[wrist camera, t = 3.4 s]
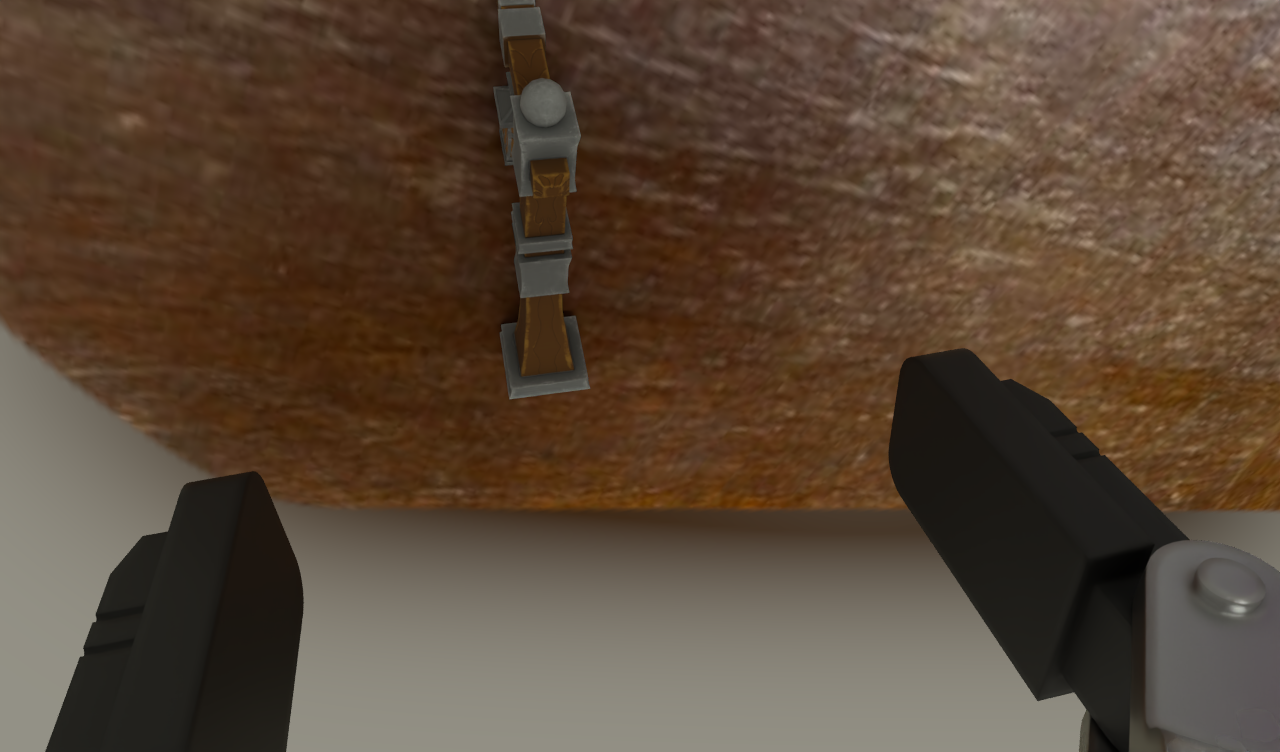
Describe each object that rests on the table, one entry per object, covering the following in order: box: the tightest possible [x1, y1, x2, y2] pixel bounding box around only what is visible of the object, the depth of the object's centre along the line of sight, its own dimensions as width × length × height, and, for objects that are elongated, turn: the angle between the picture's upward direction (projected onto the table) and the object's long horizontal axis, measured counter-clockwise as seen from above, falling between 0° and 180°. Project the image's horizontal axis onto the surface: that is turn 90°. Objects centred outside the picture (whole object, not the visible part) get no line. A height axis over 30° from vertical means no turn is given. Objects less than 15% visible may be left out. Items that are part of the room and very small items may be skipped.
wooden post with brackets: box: [493, 0, 590, 399], centre depth 17 cm, size 2×8×4 cm, turn 0°
